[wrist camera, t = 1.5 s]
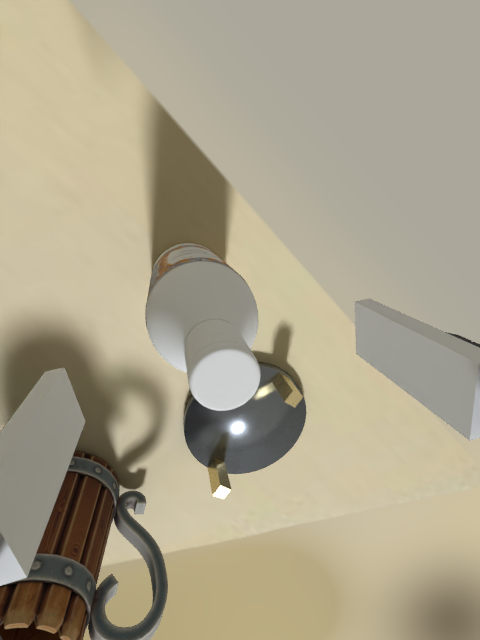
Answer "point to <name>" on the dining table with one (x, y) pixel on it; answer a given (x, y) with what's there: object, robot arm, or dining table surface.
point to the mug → (81, 563)
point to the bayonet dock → (246, 429)
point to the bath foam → (204, 324)
